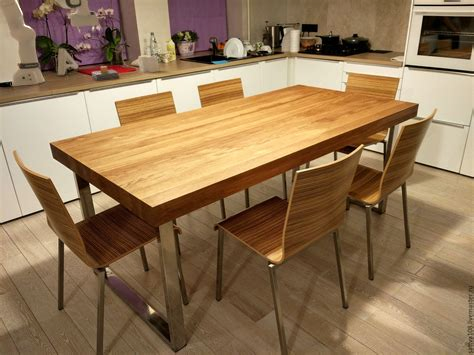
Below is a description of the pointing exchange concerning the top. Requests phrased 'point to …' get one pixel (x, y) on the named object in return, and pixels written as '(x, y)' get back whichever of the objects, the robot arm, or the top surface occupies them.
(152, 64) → the corner bracket
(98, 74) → the square hole plate
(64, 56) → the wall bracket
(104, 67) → the square block
